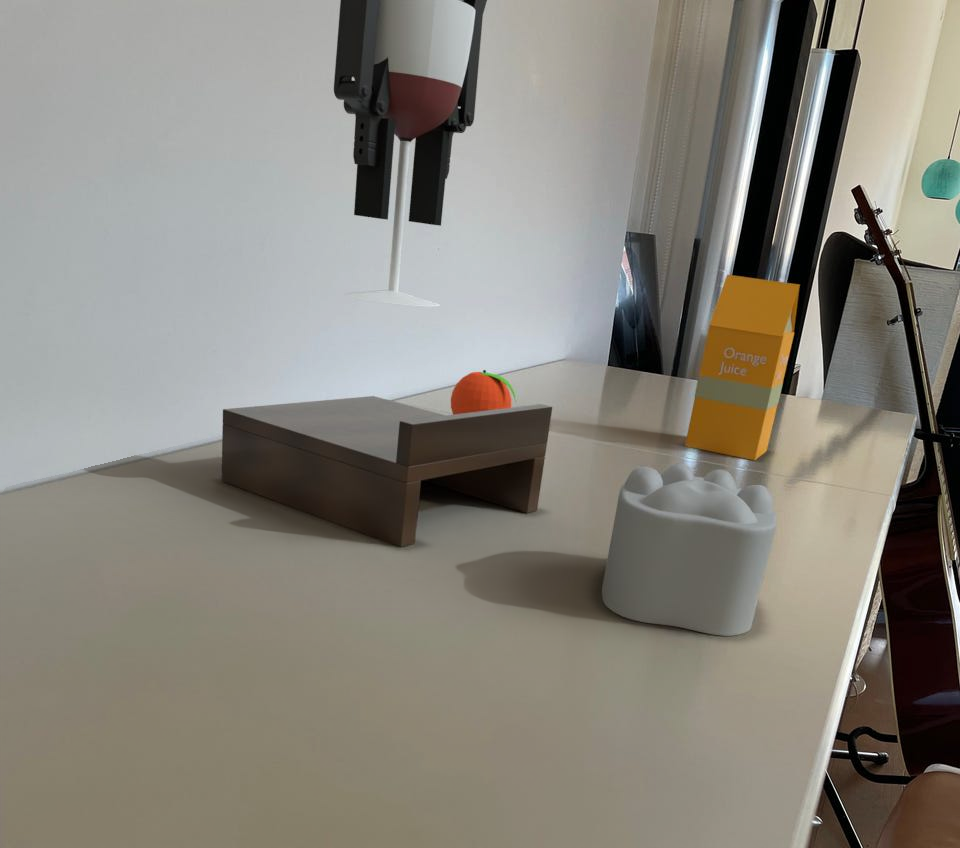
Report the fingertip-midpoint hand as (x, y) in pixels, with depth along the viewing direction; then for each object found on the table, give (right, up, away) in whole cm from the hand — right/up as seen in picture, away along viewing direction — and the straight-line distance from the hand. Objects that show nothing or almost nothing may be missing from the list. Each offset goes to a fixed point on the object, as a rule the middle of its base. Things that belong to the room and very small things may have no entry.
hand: (398, 219), depth 75 cm
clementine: (+6, -8, +38) cm, 40 cm away
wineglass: (-1, -5, +2) cm, 6 cm away
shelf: (-2, -20, +9) cm, 22 cm away
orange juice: (+37, -8, +48) cm, 61 cm away
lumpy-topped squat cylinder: (+20, -29, -5) cm, 36 cm away
